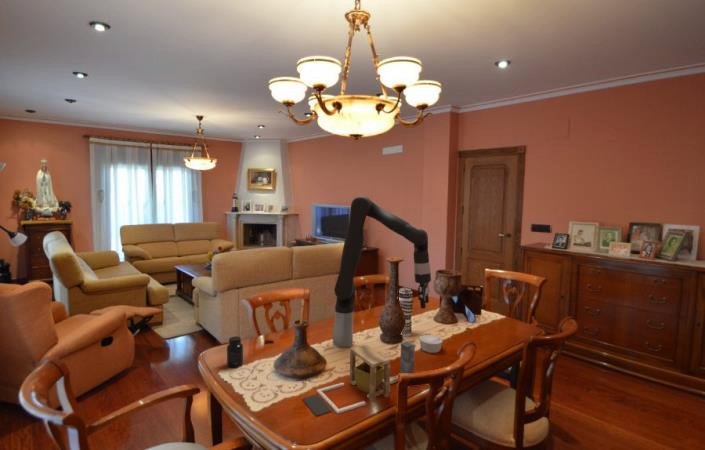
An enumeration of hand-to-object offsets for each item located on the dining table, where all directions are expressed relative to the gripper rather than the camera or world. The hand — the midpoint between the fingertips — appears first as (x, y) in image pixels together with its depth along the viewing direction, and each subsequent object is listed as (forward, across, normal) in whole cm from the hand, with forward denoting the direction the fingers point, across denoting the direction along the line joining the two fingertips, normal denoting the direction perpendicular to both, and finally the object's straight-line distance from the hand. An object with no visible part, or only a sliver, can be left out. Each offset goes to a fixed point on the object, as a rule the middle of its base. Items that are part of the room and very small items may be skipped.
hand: (424, 305), depth 178 cm
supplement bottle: (+14, +46, -76) cm, 90 cm away
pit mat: (+19, +60, -29) cm, 70 cm away
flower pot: (+21, +42, -16) cm, 50 cm away
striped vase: (+23, -22, -17) cm, 36 cm away
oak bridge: (+21, +42, -16) cm, 50 cm away
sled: (+21, +35, -11) cm, 43 cm away
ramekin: (+24, -6, 0) cm, 25 cm away
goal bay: (+20, +52, -24) cm, 61 cm away
